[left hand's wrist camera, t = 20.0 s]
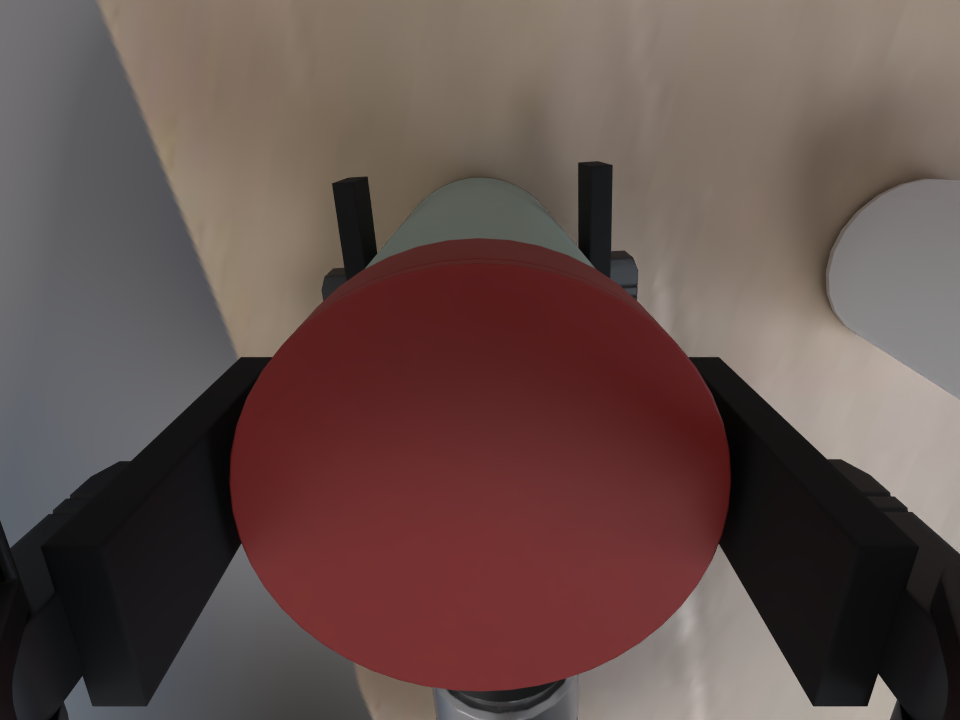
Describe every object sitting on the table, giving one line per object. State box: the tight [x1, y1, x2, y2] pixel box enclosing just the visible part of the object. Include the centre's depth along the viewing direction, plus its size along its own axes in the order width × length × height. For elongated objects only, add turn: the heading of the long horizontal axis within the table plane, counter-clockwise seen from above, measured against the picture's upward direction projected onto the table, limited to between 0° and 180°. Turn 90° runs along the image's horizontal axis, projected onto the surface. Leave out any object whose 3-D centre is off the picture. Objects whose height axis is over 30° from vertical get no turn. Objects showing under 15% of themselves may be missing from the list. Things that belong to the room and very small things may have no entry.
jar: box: [365, 178, 595, 269], centre depth 20 cm, size 8×8×20 cm
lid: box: [229, 238, 731, 691], centre depth 11 cm, size 9×9×2 cm
